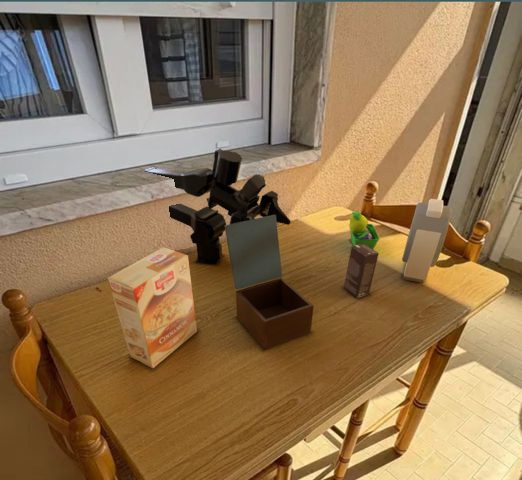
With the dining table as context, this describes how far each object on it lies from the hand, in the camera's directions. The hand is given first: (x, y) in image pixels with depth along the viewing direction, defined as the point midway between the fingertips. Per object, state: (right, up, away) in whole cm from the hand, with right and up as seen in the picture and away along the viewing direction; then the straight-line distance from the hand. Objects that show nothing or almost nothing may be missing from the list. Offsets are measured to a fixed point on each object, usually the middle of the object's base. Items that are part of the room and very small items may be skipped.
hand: (281, 229), depth 96 cm
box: (+20, -15, +6) cm, 26 cm away
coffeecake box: (-27, -29, -11) cm, 41 cm away
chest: (-2, -25, -6) cm, 25 cm away
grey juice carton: (+39, -8, +14) cm, 42 cm away
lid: (-6, -8, -10) cm, 15 cm away
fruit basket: (+26, +2, +26) cm, 37 cm away
